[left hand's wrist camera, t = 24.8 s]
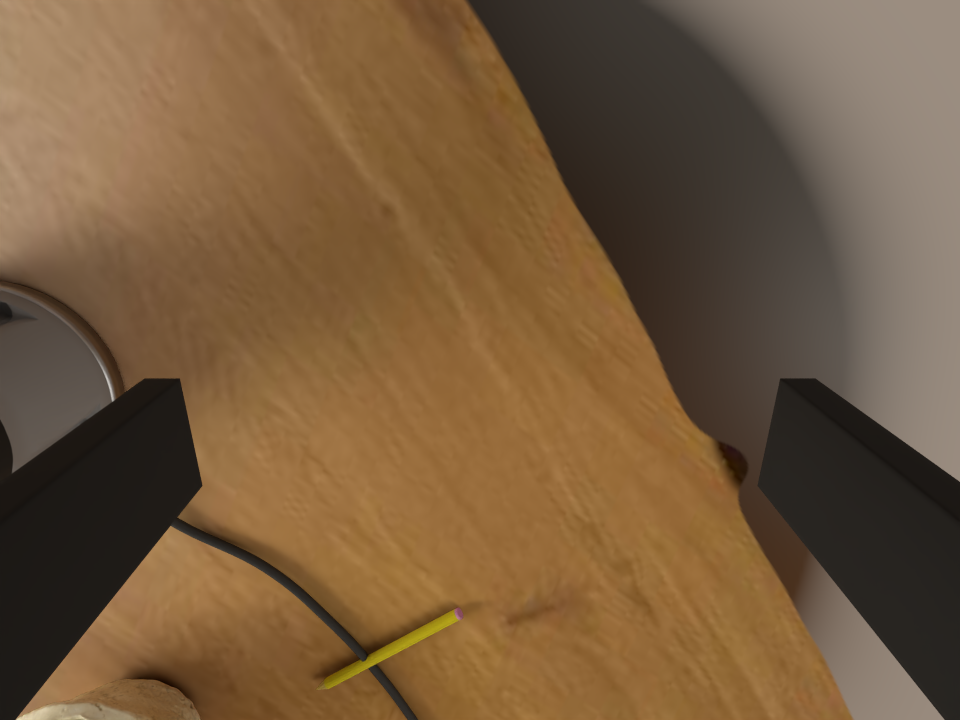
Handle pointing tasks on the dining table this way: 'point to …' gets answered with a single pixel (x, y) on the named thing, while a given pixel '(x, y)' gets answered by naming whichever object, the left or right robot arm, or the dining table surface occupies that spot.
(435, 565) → the dining table surface
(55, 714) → the bowl
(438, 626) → the pencil
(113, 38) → the dining table surface
